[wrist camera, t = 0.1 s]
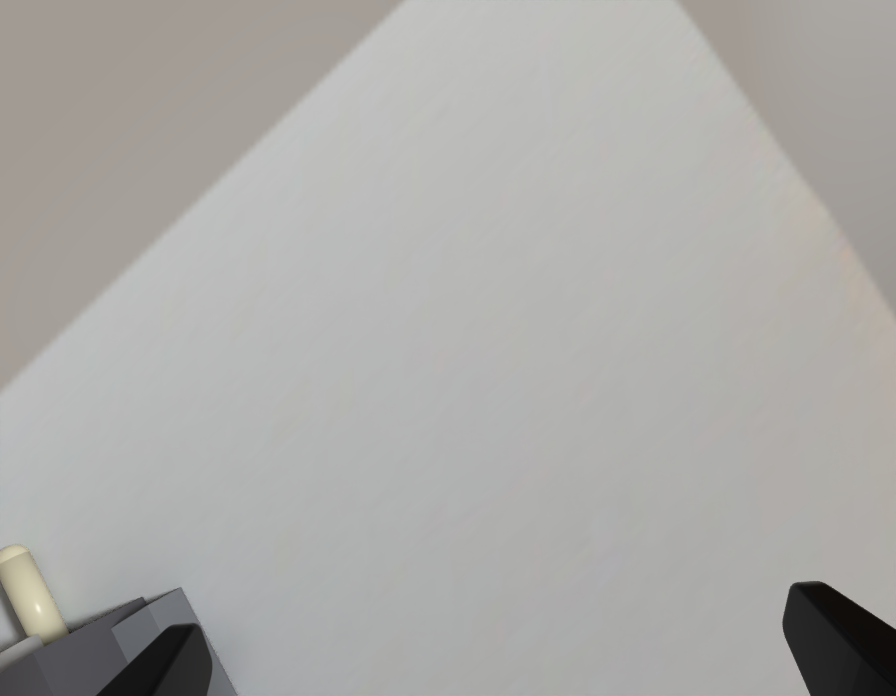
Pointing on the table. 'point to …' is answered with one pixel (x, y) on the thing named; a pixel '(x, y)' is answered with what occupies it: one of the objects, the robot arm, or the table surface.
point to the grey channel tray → (81, 637)
